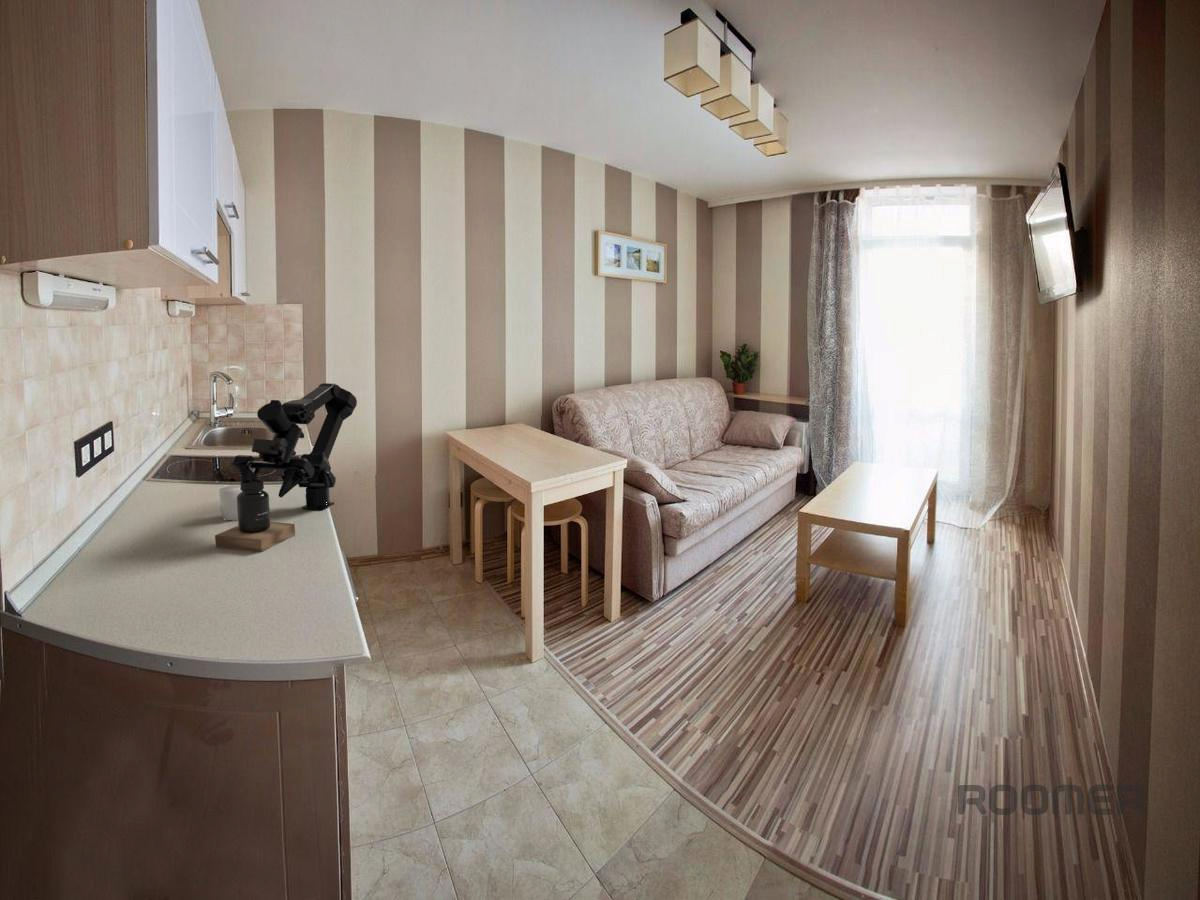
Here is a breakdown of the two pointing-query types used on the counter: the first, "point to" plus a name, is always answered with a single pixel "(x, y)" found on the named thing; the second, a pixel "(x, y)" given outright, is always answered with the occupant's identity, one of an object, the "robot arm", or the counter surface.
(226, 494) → the white rounded block
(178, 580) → the counter surface
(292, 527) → the walnut plinth
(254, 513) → the supplement bottle
